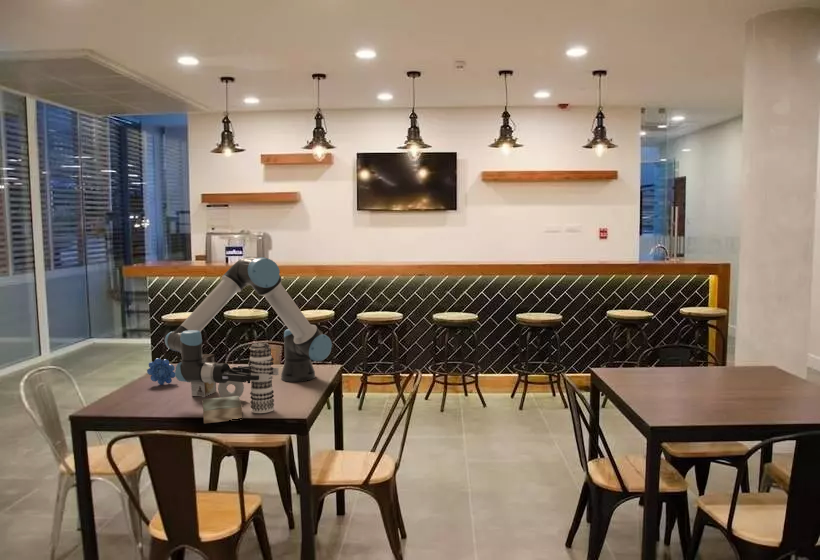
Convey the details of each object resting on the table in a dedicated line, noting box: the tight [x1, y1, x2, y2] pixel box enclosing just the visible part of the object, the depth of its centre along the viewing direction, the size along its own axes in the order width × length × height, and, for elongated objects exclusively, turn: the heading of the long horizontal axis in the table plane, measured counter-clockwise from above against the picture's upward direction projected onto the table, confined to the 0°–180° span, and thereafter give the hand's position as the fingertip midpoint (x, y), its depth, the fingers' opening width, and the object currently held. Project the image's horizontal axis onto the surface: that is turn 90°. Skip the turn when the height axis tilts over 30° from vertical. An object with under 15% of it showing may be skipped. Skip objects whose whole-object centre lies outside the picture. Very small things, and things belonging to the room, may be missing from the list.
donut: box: [217, 381, 245, 398], centre depth 248 cm, size 10×4×10 cm, turn 101°
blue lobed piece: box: [146, 357, 176, 386], centre depth 273 cm, size 12×7×12 cm, turn 115°
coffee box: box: [190, 353, 217, 398], centre depth 257 cm, size 9×6×16 cm
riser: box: [202, 396, 243, 424], centre depth 228 cm, size 13×14×5 cm
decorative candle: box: [247, 342, 275, 414], centre depth 231 cm, size 9×9×25 cm
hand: (273, 374), depth 231 cm, fingers closed on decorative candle, 8 cm apart
